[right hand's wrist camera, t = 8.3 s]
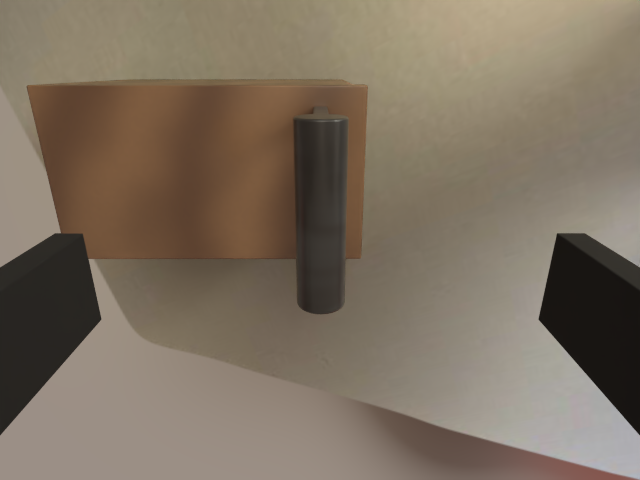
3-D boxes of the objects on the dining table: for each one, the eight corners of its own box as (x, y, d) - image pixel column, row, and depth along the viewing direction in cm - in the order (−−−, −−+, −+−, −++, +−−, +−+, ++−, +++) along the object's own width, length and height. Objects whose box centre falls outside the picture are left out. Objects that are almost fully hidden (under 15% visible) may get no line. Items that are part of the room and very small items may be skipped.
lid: (365, 84, 23) (391, 93, 14) (359, 250, 26) (377, 332, 18) (40, 84, 22) (-117, 93, 14) (78, 250, 26) (-32, 333, 18)
